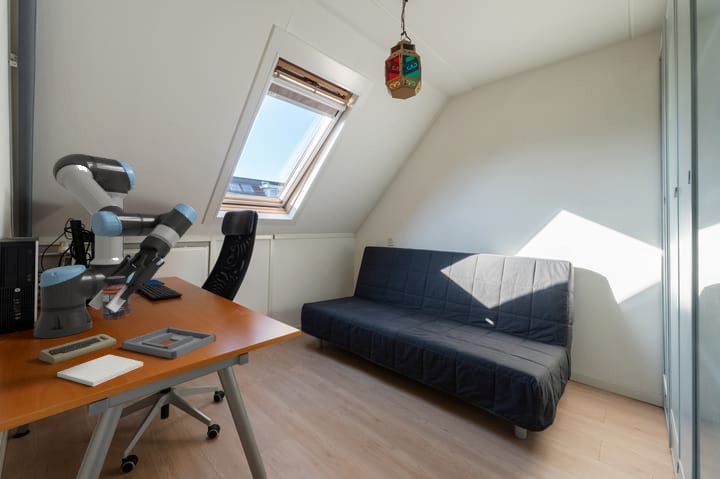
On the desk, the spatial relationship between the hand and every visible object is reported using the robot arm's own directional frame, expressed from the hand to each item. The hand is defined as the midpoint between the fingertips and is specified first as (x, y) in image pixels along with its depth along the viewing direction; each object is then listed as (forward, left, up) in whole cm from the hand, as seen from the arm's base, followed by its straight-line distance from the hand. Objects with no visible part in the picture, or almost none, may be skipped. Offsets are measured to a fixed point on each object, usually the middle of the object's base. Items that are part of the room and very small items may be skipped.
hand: (102, 308), depth 80 cm
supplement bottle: (0, +4, -4) cm, 5 cm away
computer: (-21, +6, -18) cm, 28 cm away
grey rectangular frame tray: (-1, +20, -17) cm, 27 cm away
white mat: (-1, 0, -17) cm, 17 cm away
